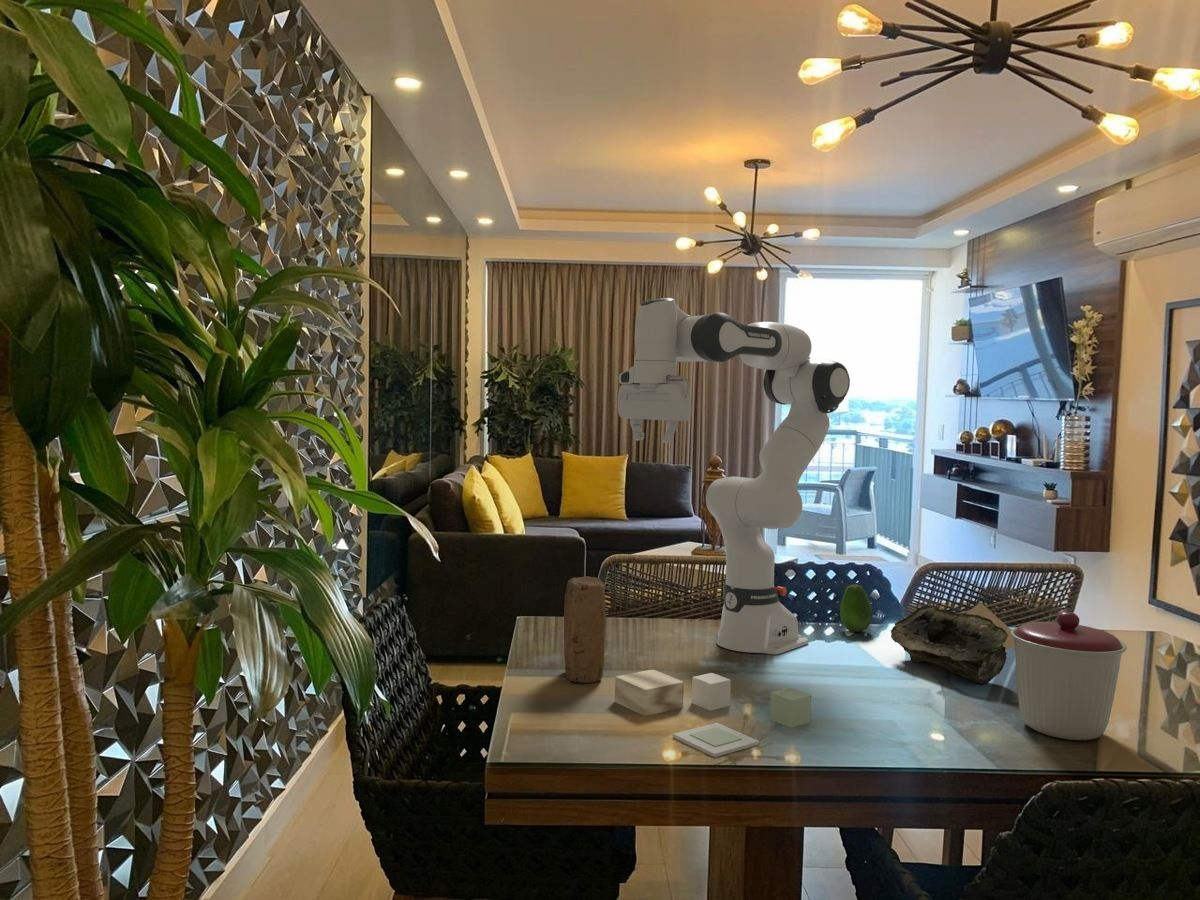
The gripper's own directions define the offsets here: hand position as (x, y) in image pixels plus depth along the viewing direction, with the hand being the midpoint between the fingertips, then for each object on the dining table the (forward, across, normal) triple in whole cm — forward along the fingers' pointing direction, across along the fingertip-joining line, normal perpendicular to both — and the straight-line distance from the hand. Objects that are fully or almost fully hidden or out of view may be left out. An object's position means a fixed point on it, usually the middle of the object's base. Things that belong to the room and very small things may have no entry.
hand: (652, 441), depth 187 cm
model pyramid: (+48, -27, -83) cm, 100 cm away
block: (+48, 0, +16) cm, 51 cm away
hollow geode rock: (+48, -38, -52) cm, 81 cm away
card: (+48, -40, +18) cm, 64 cm away
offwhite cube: (+48, -26, +6) cm, 54 cm away
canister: (+48, -69, -38) cm, 92 cm away
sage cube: (+48, -40, 0) cm, 62 cm away
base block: (+48, -20, +16) cm, 54 cm away
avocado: (+48, -5, -64) cm, 80 cm away
